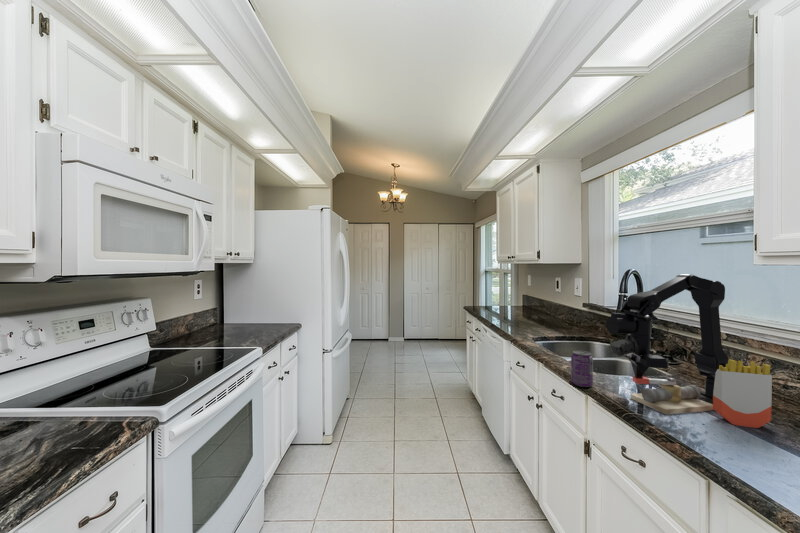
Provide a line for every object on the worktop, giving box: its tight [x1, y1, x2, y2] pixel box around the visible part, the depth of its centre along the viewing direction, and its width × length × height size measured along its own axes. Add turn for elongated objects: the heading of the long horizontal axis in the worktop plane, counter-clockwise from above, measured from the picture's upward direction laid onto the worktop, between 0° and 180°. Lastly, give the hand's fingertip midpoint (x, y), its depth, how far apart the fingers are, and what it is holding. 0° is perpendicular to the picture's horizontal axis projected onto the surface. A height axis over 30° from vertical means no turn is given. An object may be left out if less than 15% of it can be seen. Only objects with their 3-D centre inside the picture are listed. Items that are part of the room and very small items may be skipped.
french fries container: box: [712, 358, 773, 429], centre depth 93 cm, size 5×11×18 cm, turn 73°
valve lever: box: [632, 375, 677, 386], centre depth 107 cm, size 12×2×2 cm, turn 78°
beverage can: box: [570, 350, 594, 388], centre depth 122 cm, size 7×7×12 cm
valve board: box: [630, 384, 715, 415], centre depth 106 cm, size 18×12×6 cm, turn 101°
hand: (637, 379), depth 109 cm, fingers closed
